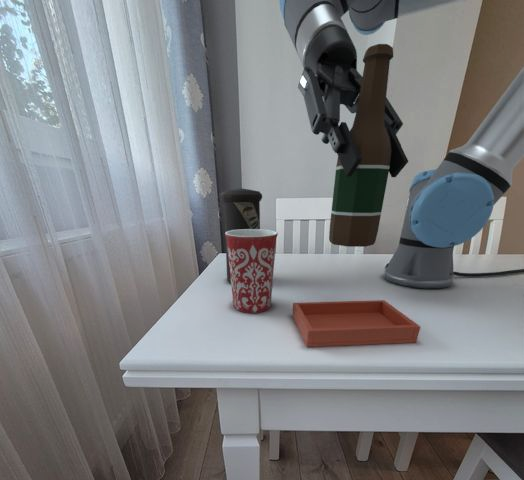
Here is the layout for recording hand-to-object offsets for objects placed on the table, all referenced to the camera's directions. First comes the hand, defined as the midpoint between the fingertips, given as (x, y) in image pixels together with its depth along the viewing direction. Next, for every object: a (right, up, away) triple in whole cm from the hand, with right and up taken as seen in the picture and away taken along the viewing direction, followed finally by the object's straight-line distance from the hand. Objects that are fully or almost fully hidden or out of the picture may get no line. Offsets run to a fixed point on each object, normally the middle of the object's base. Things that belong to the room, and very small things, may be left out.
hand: (377, 168), depth 42 cm
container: (-21, -9, +31) cm, 38 cm away
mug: (-19, -17, +17) cm, 30 cm away
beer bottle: (-1, -8, +8) cm, 11 cm away
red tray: (-2, -22, +6) cm, 23 cm away
